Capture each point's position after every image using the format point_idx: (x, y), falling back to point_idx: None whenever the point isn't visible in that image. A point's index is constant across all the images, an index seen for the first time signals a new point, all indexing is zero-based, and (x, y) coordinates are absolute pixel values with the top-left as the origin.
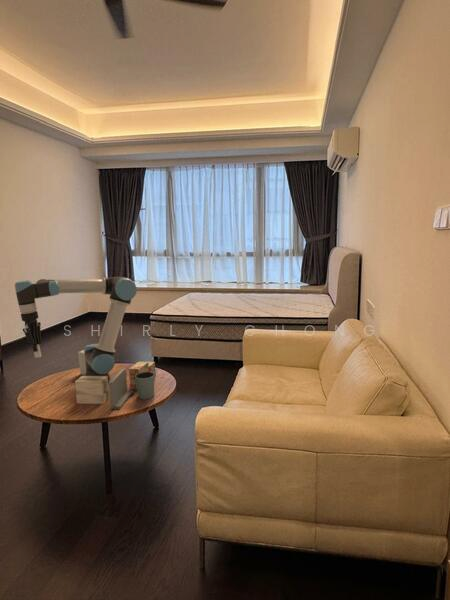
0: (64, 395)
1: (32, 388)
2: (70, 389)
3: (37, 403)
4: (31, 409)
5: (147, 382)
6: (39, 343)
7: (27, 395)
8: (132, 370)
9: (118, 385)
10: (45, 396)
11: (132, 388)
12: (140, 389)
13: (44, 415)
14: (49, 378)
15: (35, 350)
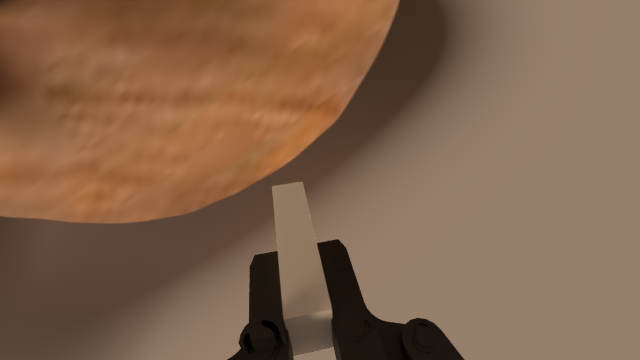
0: (180, 31)
1: (165, 209)
2: (102, 42)
3: (284, 106)
4: (336, 95)
5: None
6: (279, 325)
7: (226, 186)
8: None
9: None
10: (216, 116)
11: None
12: None
13: (389, 2)
14: (46, 214)
15: (347, 257)
